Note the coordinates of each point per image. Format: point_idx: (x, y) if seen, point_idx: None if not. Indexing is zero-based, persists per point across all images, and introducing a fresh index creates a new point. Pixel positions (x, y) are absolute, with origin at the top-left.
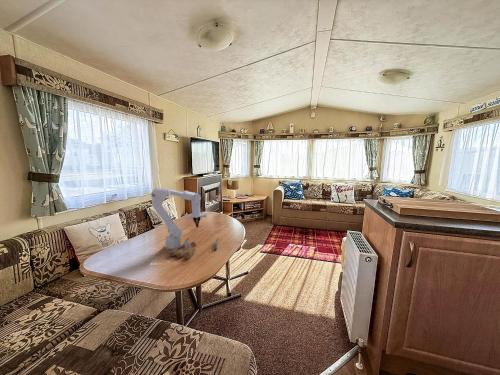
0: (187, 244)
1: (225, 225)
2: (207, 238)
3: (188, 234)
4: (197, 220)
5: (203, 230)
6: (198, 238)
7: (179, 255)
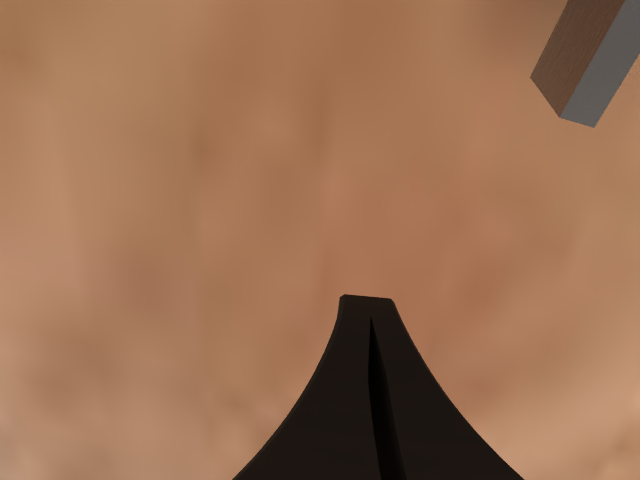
0: None
1: (7, 475)
2: (203, 183)
3: (467, 380)
4: (360, 471)
5: (261, 430)
6: (346, 222)
7: None
